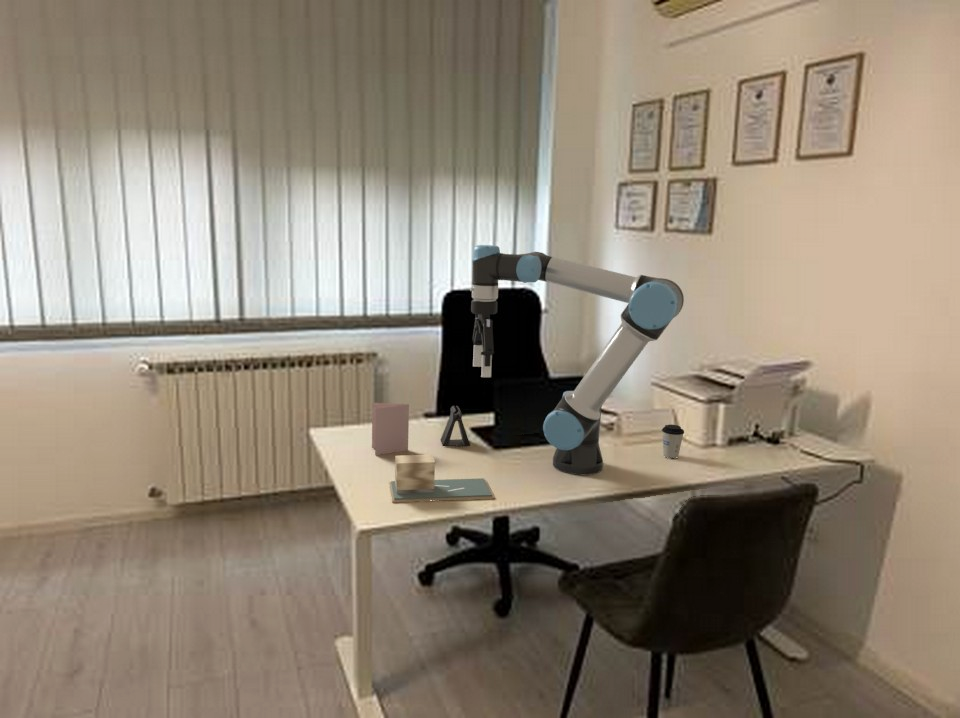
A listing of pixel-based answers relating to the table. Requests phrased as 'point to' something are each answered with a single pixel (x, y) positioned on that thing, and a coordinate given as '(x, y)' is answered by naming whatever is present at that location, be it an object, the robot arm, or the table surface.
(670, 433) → the coffee cup
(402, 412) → the greeting card
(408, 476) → the eraser block
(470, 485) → the chalkboard
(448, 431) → the phone stand
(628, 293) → the robot arm
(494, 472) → the table surface
